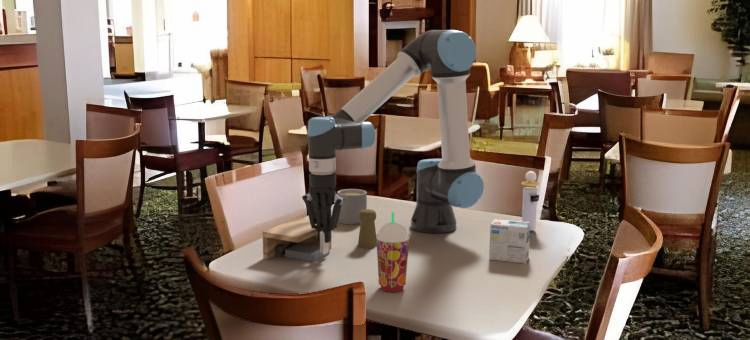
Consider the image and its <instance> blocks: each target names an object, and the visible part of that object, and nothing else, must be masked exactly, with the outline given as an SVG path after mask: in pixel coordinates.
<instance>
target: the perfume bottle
mask: <svg viewBox="0 0 750 340" xmlns="http://www.w3.org/2000/svg"><path fill="white" fill-rule="evenodd" d="M524 175H525V180H523V181H521V185H522V186H524V187H523V189H522V204H521V205H522V206H521V208H522V209H521V210H522V211H521V221H523V222H530V232H531V231H535V230H536V226H537V224H536V223H537V204H538V202H539V201H540V194H538V188H536V187H539V186H540V185H541V183H540V182H539V181H536V180H537V173H536V172H535V171H534V170H533V171H532V170H529V171H527V172H526V173H525V174H524Z"/></svg>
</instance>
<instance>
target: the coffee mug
mask: <svg viewBox="0 0 750 340" xmlns="http://www.w3.org/2000/svg"><path fill="white" fill-rule="evenodd" d="M367 193H368V192H367V191H366V190H364V189H359V188H358V189H357V188H347V189H346V188H345V189H340V190H337V195H338V196H340V197H341V198H342V197H343V198H344V199H345V200H344V202H343V204H342V205H341V210H340V215H339V219H338V223H341V224H343V225H344V224H345V225H361V220H360V218H359V214H360V211H362V210H365V209H368V208H367V207H368V204H367V201H368V200H367V199H368V198H367V195H368V194H367Z"/></svg>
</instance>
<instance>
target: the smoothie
mask: <svg viewBox="0 0 750 340" xmlns="http://www.w3.org/2000/svg"><path fill="white" fill-rule="evenodd" d="M376 241H377V246H376V257H377V272H378V273H377V274H378V275H377V276H378V285H379V286H380V289H381V290H382V291H384V292H387V291H388V293H397V291H398V292H401V291H403V289H404V286H405V285H406V284H407V269H408V256H409V244H410V235H409V234H408V232H407V230H406V228H405V227H404V226H403V225H402V224H400V223H398V222H395V212H394V211H391V221H390V222H388V223H386V224H384V225H382V227H380V229H379V230H378V233H376Z"/></svg>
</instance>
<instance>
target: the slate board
mask: <svg viewBox="0 0 750 340" xmlns="http://www.w3.org/2000/svg"><path fill="white" fill-rule="evenodd" d="M328 255H330V251H329V252H328V253H326V254H321V253H320V246H318V245H312V244H306V243H298V244H296V245H294V246H292V247H290V248H288V249H286V250H285V255H284V257H286V258H292V259H297V260H304V261H308V262H317V261H319V260H321V259H323V258H324V257H327V256H328Z"/></svg>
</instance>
